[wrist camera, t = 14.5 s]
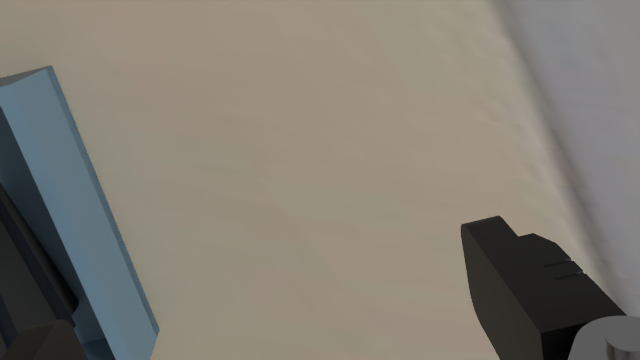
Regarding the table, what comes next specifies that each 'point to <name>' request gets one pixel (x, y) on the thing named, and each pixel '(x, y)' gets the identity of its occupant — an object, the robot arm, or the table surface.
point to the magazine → (27, 279)
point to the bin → (72, 216)
